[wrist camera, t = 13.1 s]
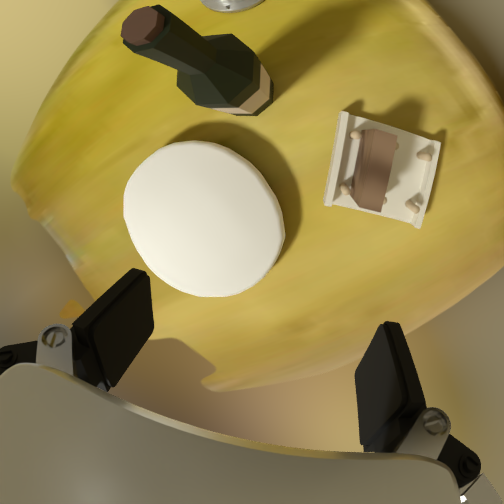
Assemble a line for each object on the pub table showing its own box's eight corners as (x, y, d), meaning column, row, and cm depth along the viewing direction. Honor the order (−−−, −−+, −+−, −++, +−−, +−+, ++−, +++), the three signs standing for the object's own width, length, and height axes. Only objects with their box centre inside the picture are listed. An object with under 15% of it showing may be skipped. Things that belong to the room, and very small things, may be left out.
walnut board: (361, 130, 34) (375, 128, 27) (380, 135, 34) (397, 135, 27) (349, 193, 39) (358, 207, 32) (367, 198, 38) (380, 212, 31)
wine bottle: (284, 79, 35) (239, -25, 8) (260, 126, 38) (167, 107, 11) (235, 61, 35) (121, -30, 8) (213, 106, 38) (67, 79, 11)
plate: (319, 242, 40) (205, 326, 50) (315, 225, 45) (212, 304, 56) (180, 104, 32) (92, 227, 43) (194, 104, 38) (111, 213, 48)
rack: (338, 113, 35) (343, 109, 31) (431, 141, 34) (445, 143, 29) (323, 199, 41) (325, 208, 37) (412, 221, 40) (423, 232, 35)
